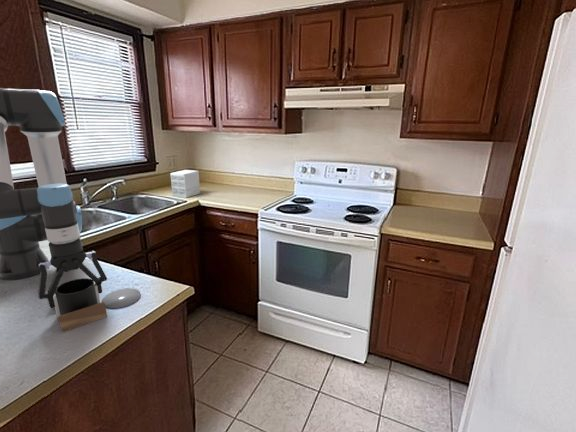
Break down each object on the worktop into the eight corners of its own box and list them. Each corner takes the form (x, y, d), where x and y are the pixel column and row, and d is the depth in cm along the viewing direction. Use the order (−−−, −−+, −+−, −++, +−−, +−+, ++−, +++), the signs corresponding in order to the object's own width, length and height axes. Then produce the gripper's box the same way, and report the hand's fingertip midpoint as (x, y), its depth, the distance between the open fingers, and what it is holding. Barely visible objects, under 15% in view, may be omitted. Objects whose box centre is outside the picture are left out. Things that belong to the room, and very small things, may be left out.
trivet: (98, 297, 102) (98, 296, 102) (134, 286, 109) (134, 284, 109) (107, 312, 94) (107, 310, 94) (145, 299, 101) (145, 297, 101)
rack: (53, 305, 97) (50, 292, 96) (93, 293, 104) (91, 281, 103) (62, 332, 85) (58, 318, 84) (107, 316, 92) (104, 302, 91)
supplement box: (186, 192, 252) (184, 169, 247) (200, 193, 247) (199, 170, 242) (171, 196, 236) (169, 172, 231) (186, 198, 232) (184, 173, 226)
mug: (92, 297, 102) (87, 272, 99) (102, 313, 94) (97, 286, 91) (56, 308, 96) (50, 282, 93) (64, 326, 87) (58, 298, 85)
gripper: (14, 254, 78) (34, 330, 85) (111, 234, 93) (122, 301, 99) (12, 245, 84) (31, 318, 90) (105, 227, 98) (115, 291, 104)
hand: (79, 309), depth 95 cm, fingers closed on mug, 9 cm apart
